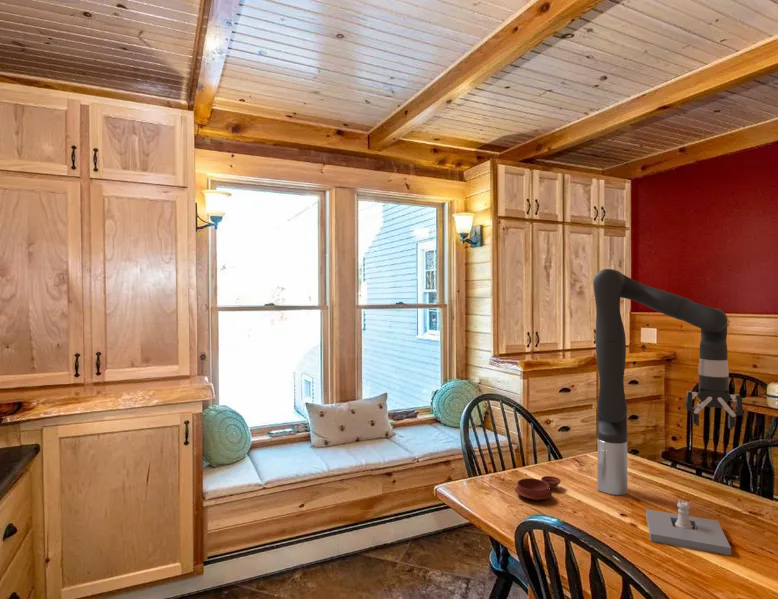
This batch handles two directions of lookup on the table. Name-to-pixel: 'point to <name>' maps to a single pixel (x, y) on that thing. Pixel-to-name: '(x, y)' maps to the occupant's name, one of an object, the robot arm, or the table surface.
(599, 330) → the robot arm
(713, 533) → the socket dock
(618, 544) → the table surface
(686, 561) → the table surface
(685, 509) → the rook chess piece
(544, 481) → the pottery
